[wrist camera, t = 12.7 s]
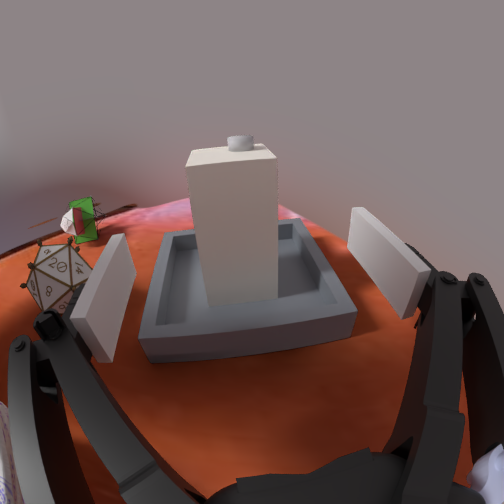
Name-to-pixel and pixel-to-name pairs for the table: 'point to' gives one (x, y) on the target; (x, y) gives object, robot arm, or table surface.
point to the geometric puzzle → (81, 220)
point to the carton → (235, 220)
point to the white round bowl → (7, 463)
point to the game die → (56, 275)
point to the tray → (243, 304)
